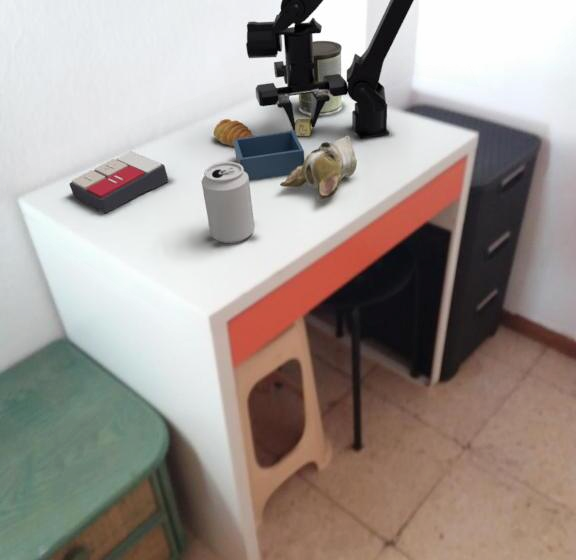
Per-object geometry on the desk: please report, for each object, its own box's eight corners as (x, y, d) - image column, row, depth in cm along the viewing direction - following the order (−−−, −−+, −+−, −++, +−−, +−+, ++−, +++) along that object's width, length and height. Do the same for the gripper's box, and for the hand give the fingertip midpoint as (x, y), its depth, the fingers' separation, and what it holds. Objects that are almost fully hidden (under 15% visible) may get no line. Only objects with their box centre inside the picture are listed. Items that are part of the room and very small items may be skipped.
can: (211, 224, 105) (200, 161, 98) (254, 219, 105) (246, 156, 98) (210, 248, 99) (198, 182, 92) (256, 243, 99) (248, 177, 92)
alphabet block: (297, 130, 134) (297, 117, 132) (311, 130, 134) (311, 117, 132) (295, 136, 132) (294, 123, 130) (309, 136, 131) (308, 123, 129)
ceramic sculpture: (371, 133, 109) (320, 170, 101) (372, 175, 114) (324, 213, 106) (324, 121, 115) (273, 155, 107) (328, 162, 120) (279, 197, 112)
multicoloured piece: (66, 179, 114) (130, 147, 122) (74, 199, 117) (136, 166, 125) (99, 196, 108) (164, 161, 116) (106, 216, 111) (169, 181, 119)
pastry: (262, 141, 131) (260, 124, 129) (238, 152, 127) (236, 135, 125) (234, 130, 137) (231, 114, 134) (210, 140, 133) (208, 124, 131)
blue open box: (294, 151, 126) (293, 130, 123) (305, 172, 118) (303, 150, 115) (236, 159, 124) (233, 139, 122) (242, 181, 117) (239, 159, 114)
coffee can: (297, 117, 140) (293, 55, 132) (301, 100, 148) (297, 41, 140) (341, 116, 139) (340, 53, 130) (343, 99, 147) (342, 39, 139)
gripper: (334, 39, 130) (335, 109, 139) (248, 50, 128) (255, 120, 137) (347, 54, 121) (348, 127, 130) (256, 66, 119) (263, 140, 128)
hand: (303, 128), depth 132 cm, fingers closed on alphabet block, 4 cm apart
